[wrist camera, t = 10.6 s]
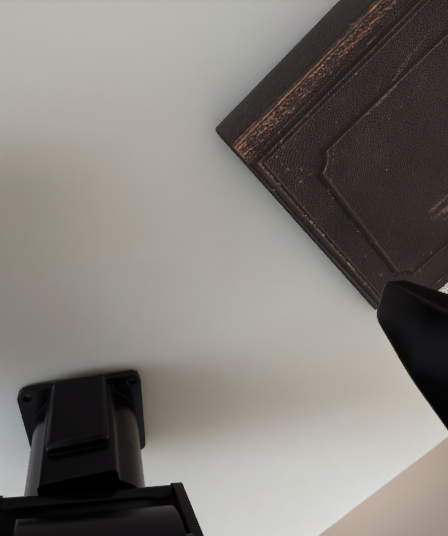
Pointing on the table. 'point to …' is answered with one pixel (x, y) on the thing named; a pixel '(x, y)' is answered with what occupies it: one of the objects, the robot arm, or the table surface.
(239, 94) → the table surface
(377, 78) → the hardcover book
